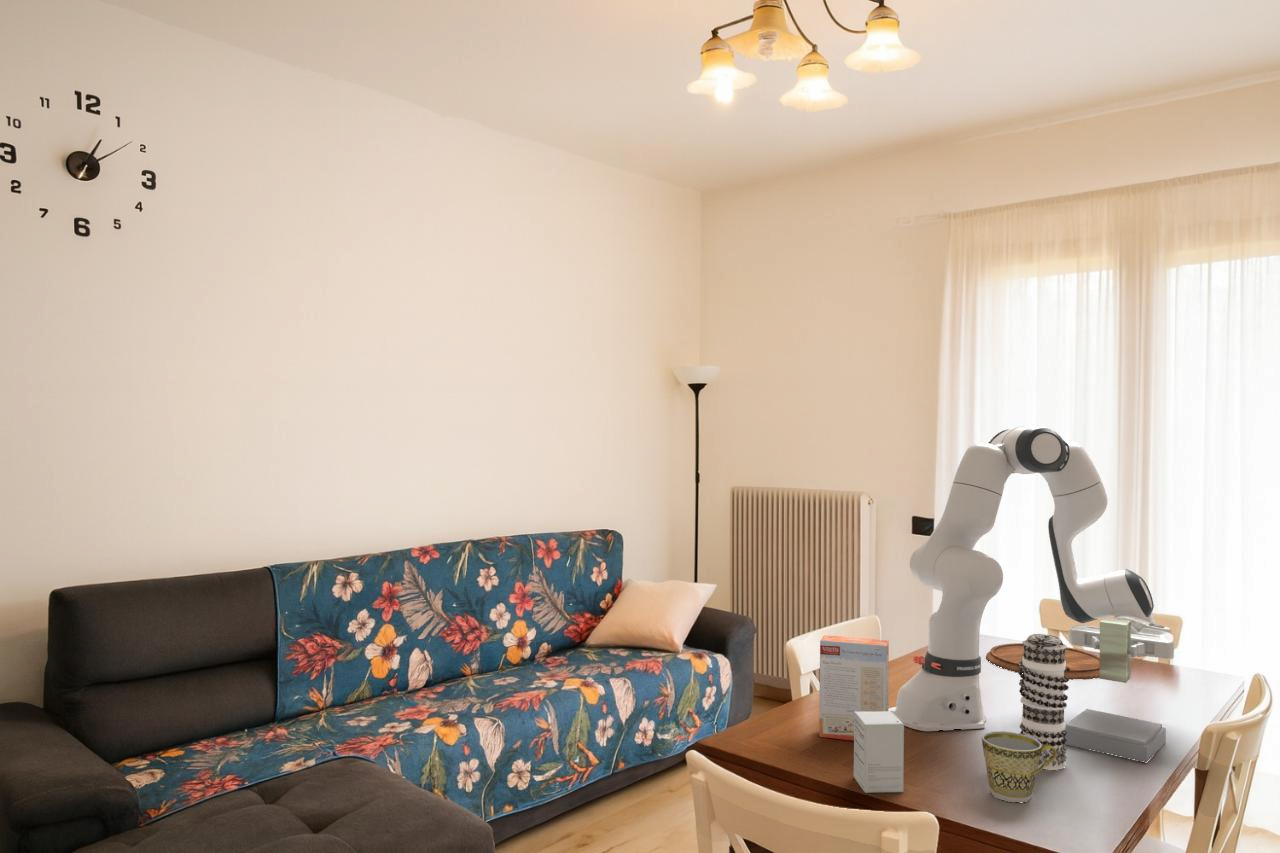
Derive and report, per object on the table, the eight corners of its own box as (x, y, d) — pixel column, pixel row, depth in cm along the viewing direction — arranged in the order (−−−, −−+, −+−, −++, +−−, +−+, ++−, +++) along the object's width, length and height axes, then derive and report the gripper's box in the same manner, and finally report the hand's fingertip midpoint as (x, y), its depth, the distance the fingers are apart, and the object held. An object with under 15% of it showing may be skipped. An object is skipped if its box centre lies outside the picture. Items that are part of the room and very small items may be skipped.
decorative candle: (1024, 750, 184) (1026, 629, 184) (1073, 761, 178) (1075, 636, 178) (1011, 763, 176) (1012, 636, 176) (1061, 775, 171) (1062, 644, 171)
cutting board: (961, 657, 260) (961, 648, 260) (1040, 646, 274) (1040, 638, 274) (1054, 686, 231) (1054, 676, 231) (1136, 673, 245) (1136, 664, 245)
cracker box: (888, 736, 191) (889, 639, 191) (886, 746, 185) (887, 645, 185) (822, 728, 195) (823, 633, 195) (818, 737, 190) (819, 639, 190)
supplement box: (891, 777, 169) (892, 710, 169) (904, 793, 161) (905, 723, 161) (852, 777, 168) (853, 710, 168) (863, 793, 161) (864, 723, 161)
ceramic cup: (992, 807, 156) (993, 749, 156) (973, 784, 166) (973, 730, 166) (1068, 809, 155) (1068, 751, 155) (1043, 786, 165) (1044, 732, 165)
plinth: (1146, 763, 177) (1147, 743, 177) (1061, 743, 188) (1061, 724, 188) (1165, 743, 189) (1165, 724, 189) (1084, 725, 200) (1084, 707, 200)
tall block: (1126, 682, 185) (1126, 625, 185) (1099, 678, 188) (1099, 621, 188) (1130, 677, 189) (1130, 621, 189) (1104, 673, 192) (1104, 617, 192)
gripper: (1075, 615, 205) (1061, 625, 194) (1179, 628, 192) (1169, 640, 182) (1075, 643, 205) (1061, 654, 194) (1178, 658, 192) (1169, 671, 182)
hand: (1114, 648), depth 188 cm, fingers closed on tall block, 5 cm apart
